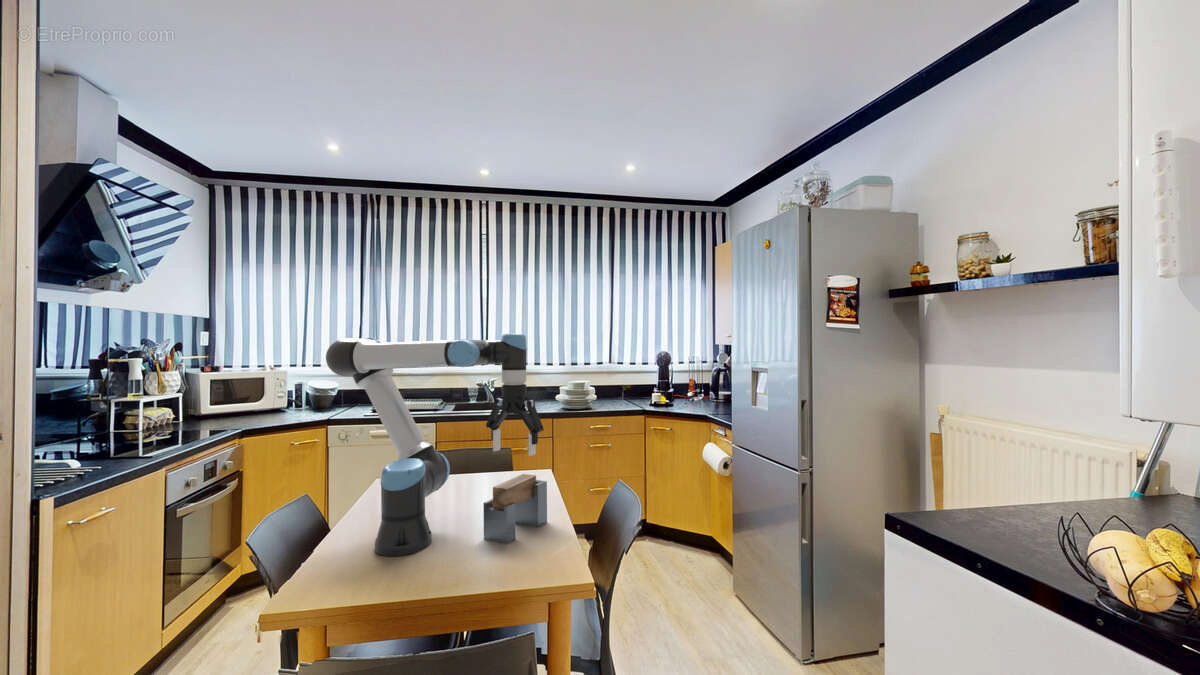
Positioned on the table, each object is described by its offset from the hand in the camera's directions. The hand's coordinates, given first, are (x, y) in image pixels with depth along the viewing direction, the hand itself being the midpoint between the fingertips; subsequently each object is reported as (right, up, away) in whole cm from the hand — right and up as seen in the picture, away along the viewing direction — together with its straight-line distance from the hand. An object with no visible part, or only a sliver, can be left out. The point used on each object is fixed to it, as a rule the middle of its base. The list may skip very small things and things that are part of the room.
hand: (514, 452), depth 150 cm
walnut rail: (0, -15, 0) cm, 15 cm away
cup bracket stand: (0, -24, 0) cm, 24 cm away
